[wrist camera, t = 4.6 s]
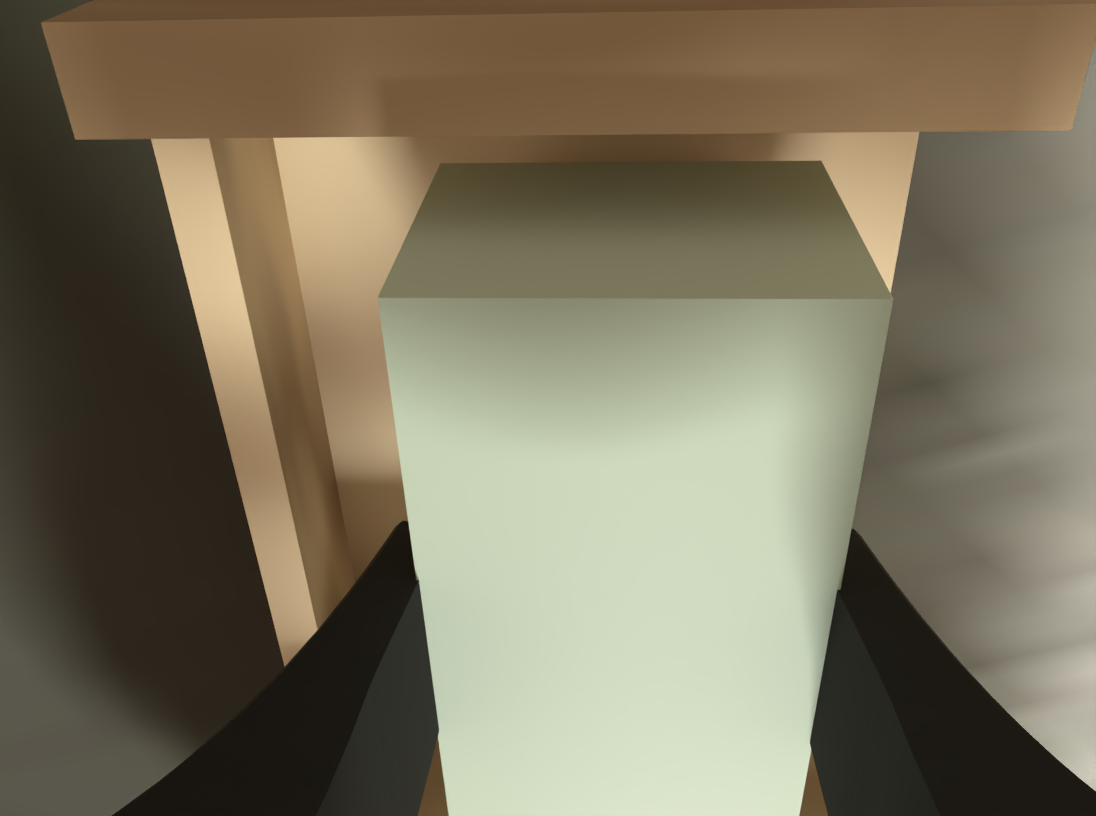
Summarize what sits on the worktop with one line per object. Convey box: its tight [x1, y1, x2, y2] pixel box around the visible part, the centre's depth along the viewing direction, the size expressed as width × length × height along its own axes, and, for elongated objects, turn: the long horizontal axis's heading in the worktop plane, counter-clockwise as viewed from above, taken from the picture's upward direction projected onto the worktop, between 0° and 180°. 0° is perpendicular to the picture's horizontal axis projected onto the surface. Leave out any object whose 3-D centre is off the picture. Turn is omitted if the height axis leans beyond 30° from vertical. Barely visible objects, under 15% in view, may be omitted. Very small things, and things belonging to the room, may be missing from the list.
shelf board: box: [378, 161, 893, 816], centre depth 14 cm, size 10×5×4 cm, turn 2°
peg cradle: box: [41, 0, 1096, 816], centre depth 16 cm, size 15×11×6 cm
